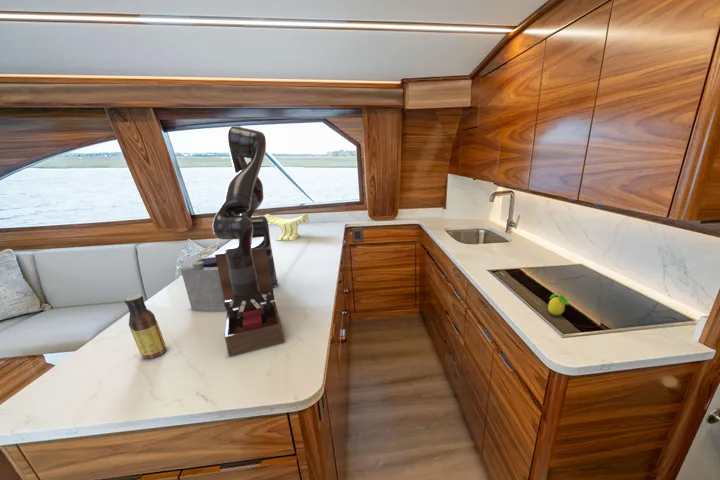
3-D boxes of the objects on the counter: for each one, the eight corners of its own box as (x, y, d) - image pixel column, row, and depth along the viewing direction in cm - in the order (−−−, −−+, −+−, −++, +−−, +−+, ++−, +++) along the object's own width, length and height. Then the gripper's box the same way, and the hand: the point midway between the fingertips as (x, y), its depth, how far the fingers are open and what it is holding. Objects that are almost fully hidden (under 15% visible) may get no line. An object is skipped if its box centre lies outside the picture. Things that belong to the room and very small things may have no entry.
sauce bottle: (151, 348, 95) (131, 292, 88) (171, 347, 96) (153, 291, 89) (136, 361, 89) (113, 301, 82) (158, 359, 90) (137, 300, 83)
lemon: (565, 321, 107) (570, 296, 104) (547, 318, 109) (551, 294, 106) (562, 312, 113) (567, 289, 110) (545, 310, 115) (549, 286, 112)
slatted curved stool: (310, 234, 239) (307, 212, 233) (305, 239, 224) (302, 216, 218) (272, 235, 237) (268, 213, 231) (264, 240, 222) (260, 217, 216)
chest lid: (265, 247, 106) (265, 246, 111) (214, 254, 100) (216, 252, 104) (274, 300, 110) (274, 297, 115) (226, 309, 104) (227, 306, 108)
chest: (283, 342, 97) (280, 324, 95) (229, 356, 91) (224, 337, 88) (277, 317, 113) (275, 301, 111) (231, 327, 106) (226, 310, 104)
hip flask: (231, 307, 121) (221, 261, 115) (225, 312, 117) (213, 264, 111) (195, 306, 123) (183, 260, 116) (188, 310, 119) (174, 263, 112)
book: (263, 331, 97) (261, 320, 96) (245, 335, 95) (242, 324, 94) (262, 318, 105) (260, 308, 104) (244, 322, 103) (242, 312, 101)
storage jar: (233, 289, 139) (226, 258, 134) (213, 297, 130) (205, 265, 125) (219, 285, 143) (211, 256, 138) (198, 293, 134) (190, 262, 129)
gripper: (267, 270, 100) (275, 315, 106) (218, 278, 94) (229, 324, 100) (269, 278, 94) (277, 324, 100) (216, 287, 88) (228, 336, 94)
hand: (253, 324), depth 100 cm, fingers closed on book, 5 cm apart
